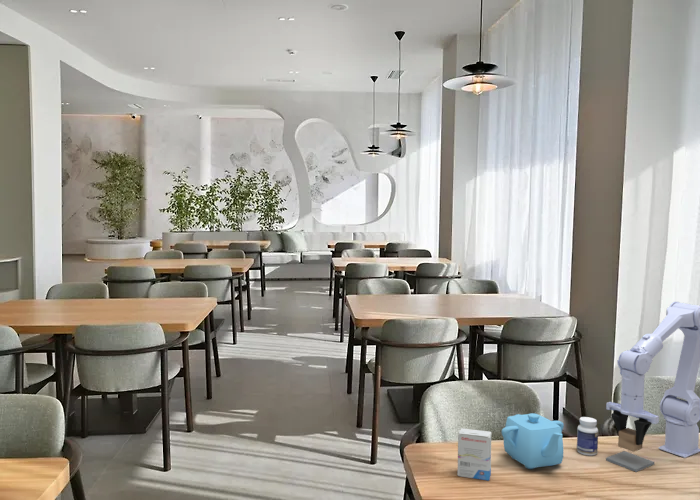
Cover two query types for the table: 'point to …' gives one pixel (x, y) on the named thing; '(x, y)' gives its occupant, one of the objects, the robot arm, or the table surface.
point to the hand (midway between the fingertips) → (630, 441)
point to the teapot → (533, 440)
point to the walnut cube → (628, 440)
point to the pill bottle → (587, 436)
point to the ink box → (474, 454)
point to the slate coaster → (630, 461)
